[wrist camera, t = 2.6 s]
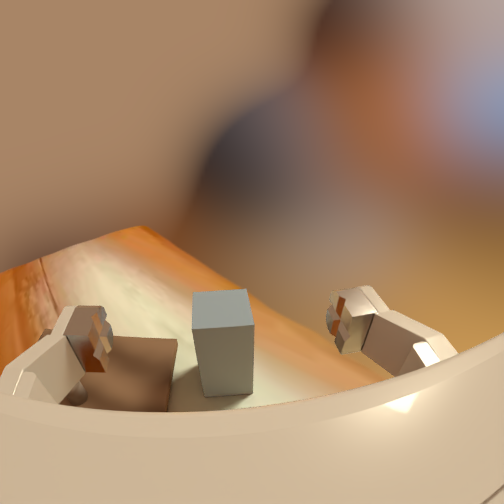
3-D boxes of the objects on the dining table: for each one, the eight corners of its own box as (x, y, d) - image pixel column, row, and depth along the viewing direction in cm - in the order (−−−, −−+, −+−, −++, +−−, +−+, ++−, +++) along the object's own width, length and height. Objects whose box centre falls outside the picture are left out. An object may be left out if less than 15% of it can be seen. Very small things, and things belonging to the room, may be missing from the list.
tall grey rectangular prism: (252, 393, 28) (254, 324, 23) (204, 397, 27) (191, 329, 22) (246, 358, 32) (246, 288, 27) (203, 361, 31) (192, 292, 27)
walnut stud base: (157, 502, 16) (131, 483, 13) (-7, 448, 15) (-43, 413, 12) (177, 344, 34) (169, 301, 30) (47, 333, 33) (30, 296, 29)
